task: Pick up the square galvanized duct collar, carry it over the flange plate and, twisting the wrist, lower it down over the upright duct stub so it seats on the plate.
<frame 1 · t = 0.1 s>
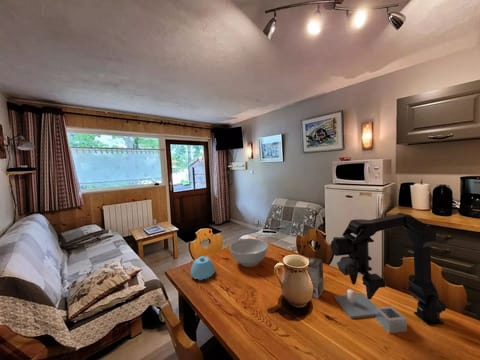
hand: (361, 291, 78), 14 cm above the table, fingers open, 9 cm apart
coffee box: (315, 292, 101), on the table
light blue dome: (203, 275, 125), on the table
collar: (390, 324, 78), on the table
duct plate: (351, 305, 90), on the table
decorative bowl: (249, 262, 137), on the table
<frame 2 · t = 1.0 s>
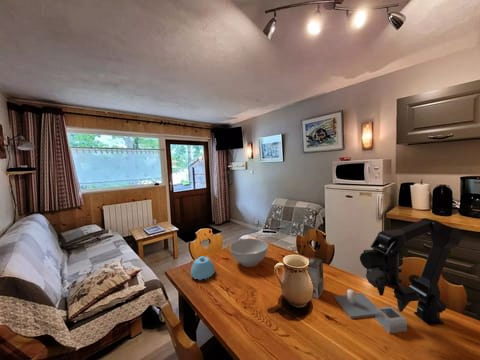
hand: (390, 303, 77), 9 cm above the table, fingers open, 9 cm apart
nothing on the table moved.
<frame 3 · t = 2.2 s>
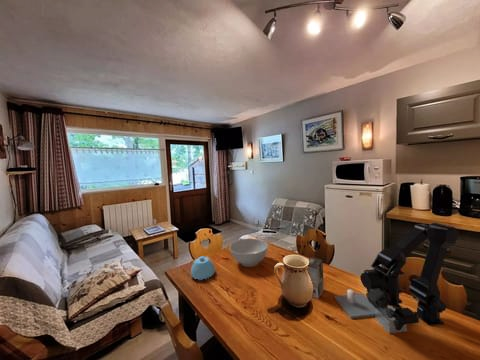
hand: (390, 322, 78), 1 cm above the table, fingers closed on collar, 7 cm apart
collar: (390, 325, 78), on the table, touching gripper
everything else where it was.
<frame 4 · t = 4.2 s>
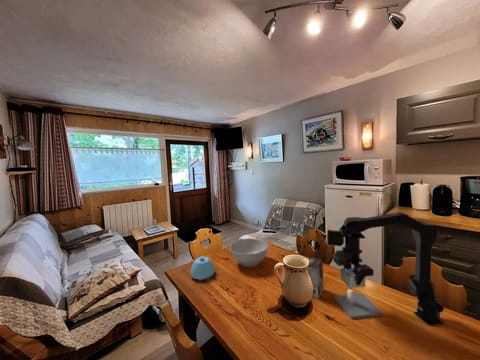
hand: (352, 280, 88), 12 cm above the table, fingers closed on collar, 7 cm apart
collar: (352, 282, 88), point 11 cm above the table, touching gripper
everything else where it was.
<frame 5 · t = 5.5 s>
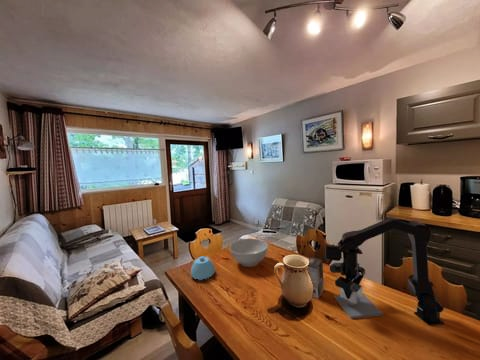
hand: (351, 294, 90), 5 cm above the table, fingers closed on collar, 7 cm apart
collar: (351, 296, 90), point 4 cm above the table, touching gripper
everything else where it was.
when the fingers open (4 cm above the table, at t = 6.3 s): collar drops 2 cm, resting on duct plate.
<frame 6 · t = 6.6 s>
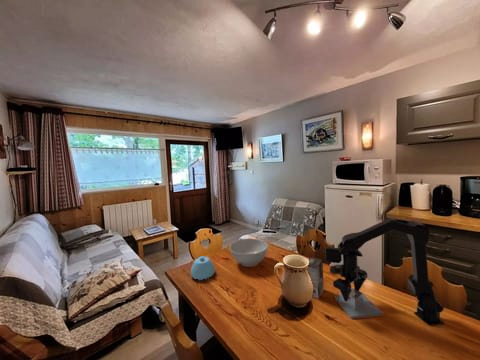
hand: (351, 296, 90), 4 cm above the table, fingers open, 9 cm apart
collar: (351, 302, 90), point 1 cm above the table, touching duct plate
everything else where it was.
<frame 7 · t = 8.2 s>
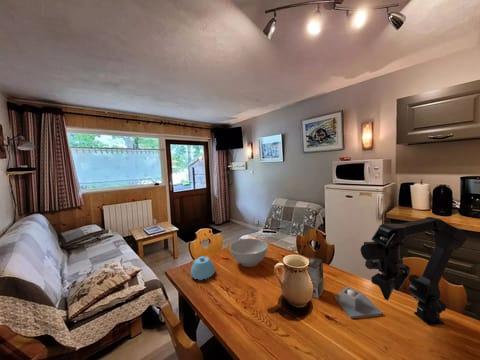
hand: (391, 294, 78), 12 cm above the table, fingers open, 9 cm apart
nothing on the table moved.
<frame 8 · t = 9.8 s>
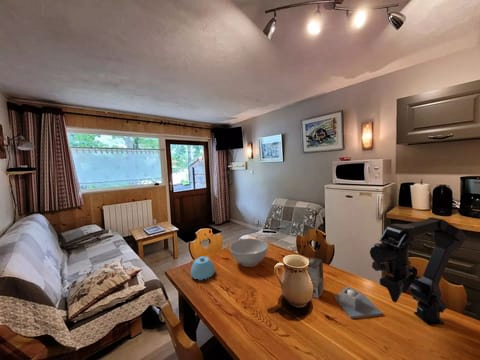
hand: (399, 297, 76), 12 cm above the table, fingers open, 9 cm apart
nothing on the table moved.
at the end: collar 0.1 cm off-centre on the duct plate, point 1.0 cm above the duct plate's base; the gripper is holding nothing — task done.
